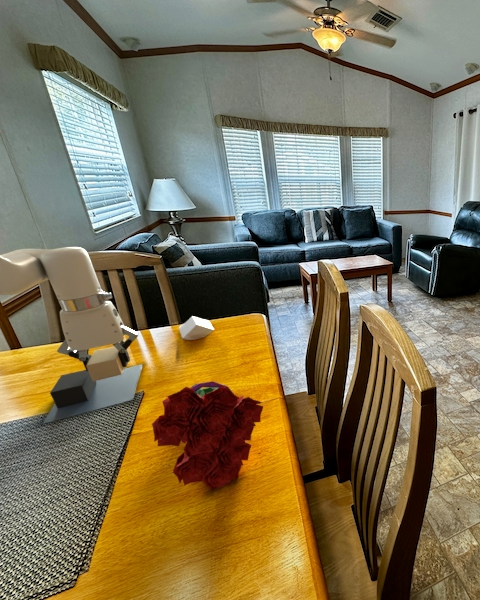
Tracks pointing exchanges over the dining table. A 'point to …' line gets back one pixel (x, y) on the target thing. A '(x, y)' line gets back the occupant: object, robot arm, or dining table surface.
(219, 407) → the bouquet
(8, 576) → the dining table surface
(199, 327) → the wedge on round base
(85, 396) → the back pad left
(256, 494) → the dining table surface
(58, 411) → the board
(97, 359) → the loose pad
